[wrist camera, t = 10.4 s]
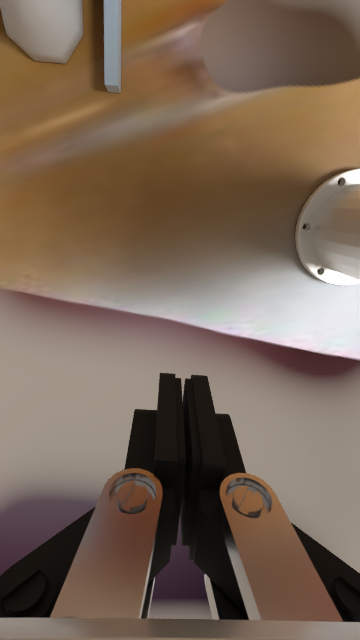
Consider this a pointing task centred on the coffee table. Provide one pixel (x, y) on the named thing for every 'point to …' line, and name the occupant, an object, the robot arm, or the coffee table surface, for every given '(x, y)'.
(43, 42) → the flask
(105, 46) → the blue frame
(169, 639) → the robot arm
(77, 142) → the coffee table surface
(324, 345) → the coffee table surface
